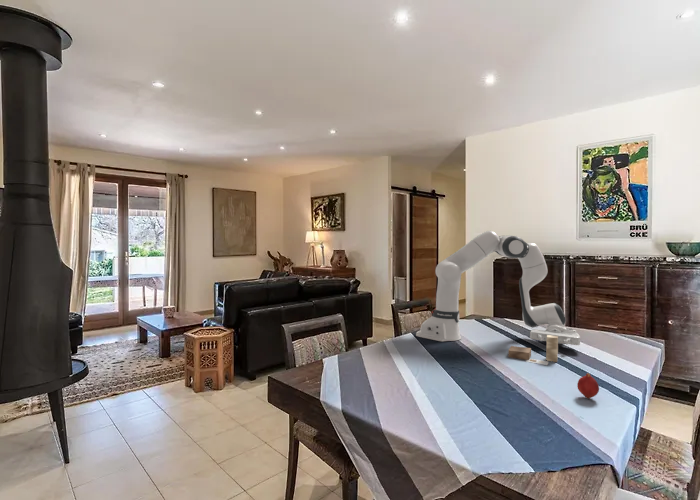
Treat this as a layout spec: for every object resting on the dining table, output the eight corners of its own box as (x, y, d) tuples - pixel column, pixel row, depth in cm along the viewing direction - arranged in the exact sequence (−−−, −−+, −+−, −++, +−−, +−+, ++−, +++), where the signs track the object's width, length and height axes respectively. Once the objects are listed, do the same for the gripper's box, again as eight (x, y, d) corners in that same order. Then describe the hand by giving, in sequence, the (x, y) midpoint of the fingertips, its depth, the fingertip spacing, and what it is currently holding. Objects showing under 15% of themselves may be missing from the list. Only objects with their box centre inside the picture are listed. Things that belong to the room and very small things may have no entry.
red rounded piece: (578, 392, 122) (579, 368, 122) (599, 397, 119) (600, 372, 119) (575, 398, 118) (576, 373, 118) (597, 403, 114) (598, 378, 114)
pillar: (546, 360, 156) (546, 336, 155) (546, 358, 159) (547, 334, 159) (556, 362, 153) (557, 338, 153) (557, 359, 157) (558, 336, 157)
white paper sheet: (525, 361, 154) (525, 361, 154) (527, 358, 158) (527, 357, 158) (547, 365, 149) (547, 364, 149) (548, 362, 154) (548, 361, 154)
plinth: (508, 357, 159) (508, 350, 159) (511, 352, 166) (511, 345, 166) (529, 360, 155) (529, 352, 155) (531, 355, 162) (531, 348, 162)
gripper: (531, 324, 183) (528, 330, 172) (580, 330, 173) (580, 337, 161) (530, 337, 184) (527, 344, 172) (579, 344, 173) (579, 351, 161)
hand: (553, 340), depth 166 cm, fingers open, 8 cm apart
